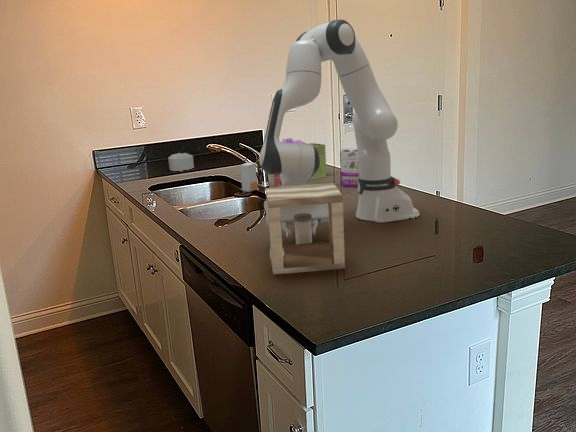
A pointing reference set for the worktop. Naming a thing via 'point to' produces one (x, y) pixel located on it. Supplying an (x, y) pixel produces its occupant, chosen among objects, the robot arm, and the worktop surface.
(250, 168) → the skincare box
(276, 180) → the soda can
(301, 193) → the shelf
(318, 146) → the protein box
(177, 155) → the lumpy-topped squat cylinder
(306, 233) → the jar
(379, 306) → the worktop surface
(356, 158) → the candy bar box
